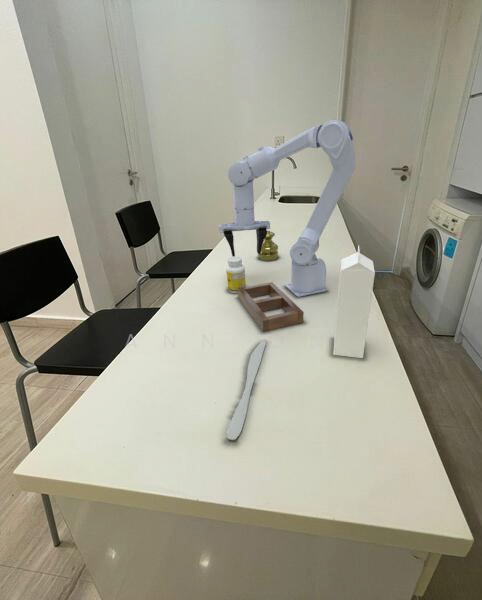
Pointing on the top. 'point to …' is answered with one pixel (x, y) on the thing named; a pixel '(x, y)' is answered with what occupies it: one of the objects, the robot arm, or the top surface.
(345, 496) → the top surface
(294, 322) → the divided wooden frame
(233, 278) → the supplement bottle
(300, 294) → the robot arm
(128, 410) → the top surface
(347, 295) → the milk
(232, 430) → the butter knife
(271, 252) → the brass tiered ornament
